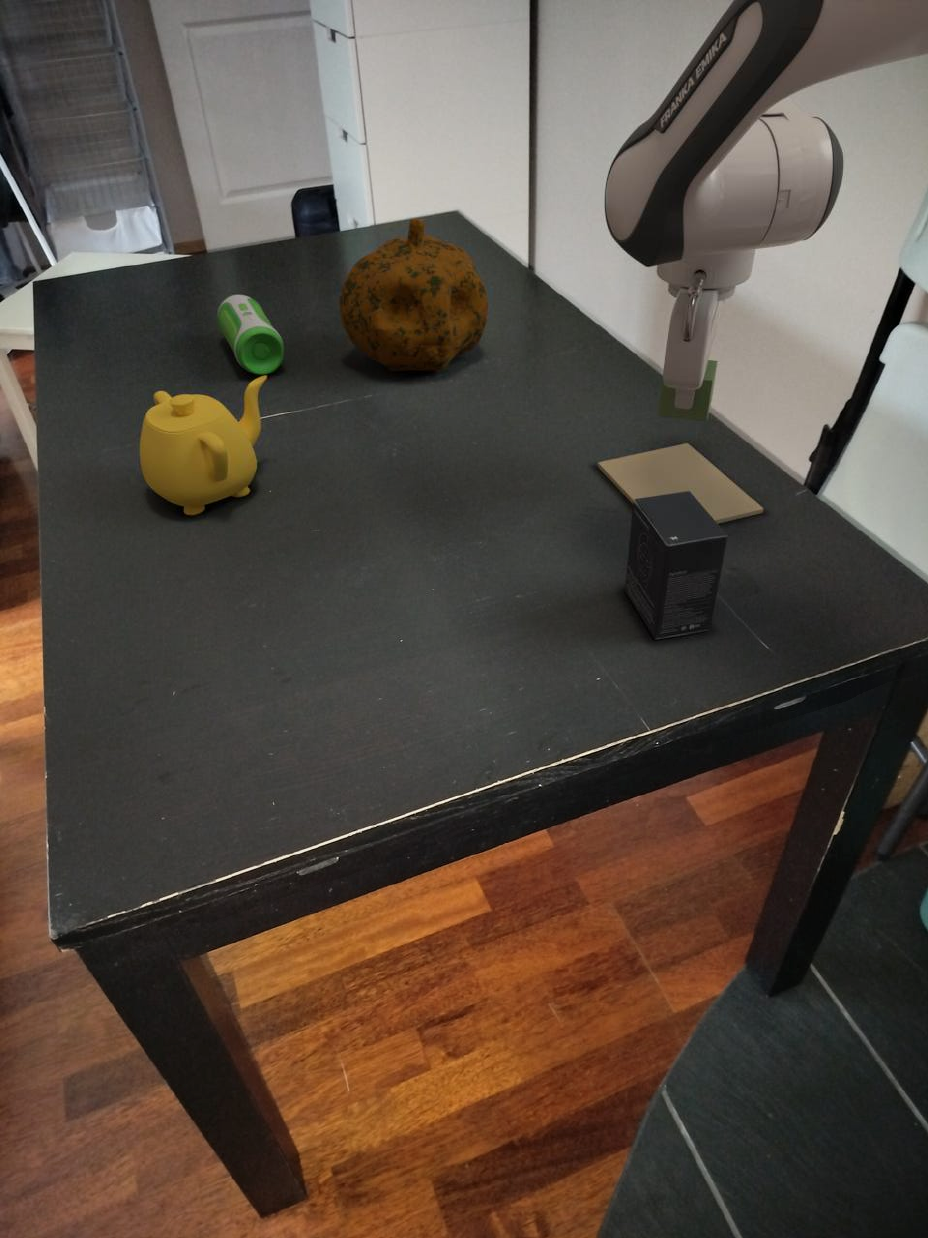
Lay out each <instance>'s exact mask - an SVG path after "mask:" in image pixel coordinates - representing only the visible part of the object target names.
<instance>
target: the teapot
mask: <svg viewBox="0 0 928 1238" xmlns="http://www.w3.org/2000/svg"><path fill="white" fill-rule="evenodd" d="M267 378H268V375H260V376H259V377H257V378H255V379H254V380H251V382H249V384H248V385H247V386H246V388H245V392H244V395H243V396H244V399H243V401H244V403H243V404H244V410H243V415H242V416H241V418H240V420H239V421H238V420H237V419H236V418H235V416H234V415H233V414H232V412H230V410H229V409H228V408H227V407H226V406H225V405H224V404H223V403H222V402H221V401H219V400H217V399H216V398H214V397H211V396H208V395H205V394H189V393H182V394H177V395H175V396H171V395H170V394H169V393H168V392H167V391H165V390H158V391H156V392H154V394H153V401H154V404H155V405H154V406H152V407H150V408H149V409H148V410H147V412H146V413H145V415H144V418H143V423H142V428H141V433H140V442H139V459H140V467H141V472H142V476H143V478H144V481H145V483H146V484H147V486H149V488H150V489H151V490H152V491H153V492H154V493H156V494H157V495H159V496H160V498H163V499H165V500H166V501H168V502H170V503H172V504H174V505H176V506H181V507H183V513H184V514H185V515H187V516H196V515H198V514H199V515H200V514H201V513H202V512H204V511H205V508H206V507H205V505H210V504H212V503H215V502H218V501H221V500H223V499H226V498H229V497H234V498H241V497H245V496H247V495H248V494H249V493H250V492H251V489H250V488H249V487H248V486H249V485H250V484H251V483H252V480H253V479H254V477H255V475H256V473H257V468H258V459H257V456H256V452H255V449H254V447H253V446H255V444H256V443H257V441H258V439H259V437H260V435H261V430H262V420H261V415H260V409H259V392H260V389H261V387H262V385H263V384H264V383H265V381H266V380H267Z"/></svg>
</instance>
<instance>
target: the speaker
mask: <svg viewBox="0 0 928 1238" xmlns="http://www.w3.org/2000/svg"><path fill="white" fill-rule="evenodd" d="M216 318H217V319H216V320H217V324H218V328H219V330H220V332H221V333H222V335H223V336H224V338H225V339H226V341H227V343H228V345H229V347H230V349H231V350H232V353H233V355H234V357H235V360H236V362H237V364H239V366H240V367H242V368H243V369H244V370H246V371H247V372H249V373H251V374H254V375H258V376H267V375H269V374H271V373H274V372H275V371H276V370H277V369H278V368H279V367H280V366H281V364H282V363H283V361H284V355H285V346H284V341H283V338H282V335H281V334H280V332H278V331H277V329H276V328H274V326H273V324H272V323H271V322H270V320H269V319H268V317H267V315H266V314H265V313H264V310H263V308H262V307H261V305H260V304H259V303H258V302H257V301H256V300H255V299H253V298H252V297H250V296H248V295H244V294H232V295H230V296H227V297H226V298H224V300H222V302H221V303H220V304H219V307H218V310H217V316H216Z"/></svg>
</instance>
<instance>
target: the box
mask: <svg viewBox="0 0 928 1238" xmlns="http://www.w3.org/2000/svg"><path fill="white" fill-rule="evenodd" d="M728 537H729V536H728V533H726V532H725V531H724V529H723V528H722V527H721V526H720V525H719V524H717V522H716V521H715V520H714V519H713V518H712V517H711V515H710V514H709V513H708V512H707V511H706V509H705V508H704V507H703V506H702V505H701V504H700V502H699V501H698V500H697V499H696V498H695V497H694V495H693V494H692V493H691V492H690V491H686V492H679V493H672V494H666V495H659V496H652V497H646V498H639V499H635V500H634V501H633V504H632V512H631V522H630V533H629V544H628V554H627V555H628V556H627V565H626V576H625V585H624V591H625V594H626V595H627V597H628V598H629V600H630V602H631V604H632V605H633V607H634V608H635V610H636V611H637V613H638V615H639V616H640V618H641V620H642V621H643V623H644V625H645V626H646V627H647V629H648V631H649V632H650V633H651V636H652V637H653V639H654V640H661V639H667V638H668V639H669V638H673V637H680V636H686V635H690V634H696V633H697V634H698V633H702V632H708V631H710V630H711V628H712V624H713V619H714V614H715V609H716V604H717V597H718V591H719V587H720V582H721V581H720V580H721V575H722V571H723V570H722V569H723V566H724V559H725V555H726V554H725V553H726V548H727V544H728V543H727V542H728Z"/></svg>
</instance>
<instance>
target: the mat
mask: <svg viewBox="0 0 928 1238" xmlns="http://www.w3.org/2000/svg"><path fill="white" fill-rule="evenodd" d="M597 468H598V469H599V470H600V471H601V472H602V473H603V474H604V475H605V476H606V477H607V478H608V479H609V481H611V483H612V484H613V485H614V486H615V487H616V488H617V489H618V490H619V492H621V493H622V494H623V496H624V497H625V498H626V499H627V500H628V501H629V502H630V503H631V504H632V505H633V501H634V500H635V499H639V498H646V497H652V496H659V495H666V494H672V493H679V492H686V491H690V492H691V493H692V494H693V495H694V497H695V498H696V499H697V500H698V501H699V502H700V504H701V505H702V506H703V507H704V508H705V509H706V511H707V512H708V513H709V514H710V515H711V517H712V518H713V519H714V520H715V521H716V522H717V524H718V525H719V524H722V523H727V522H731V521H735V520H739V519H743V518H744V519H745V518H747V517H748V518H749V517H752V516H755V515H759V514H763V513H764V507H762V506H761V505H760V504H759V503H758V502H757V501H756V500H754V499H753V498H752V497H751V496H750V495H748V494H747V492H745V491H744V490H743V489H741V487H739V486H738V485H737V484H736V483H735V482H733V481H732V480H731V478H729V477H727V476H726V475H725V473H724V472H722V471H721V470H720V469H718V468H717V467H716V465H714V464H713V463H711V461H709V460H708V459H707V458H706V457H704V455H702V454H701V453H700V452H699V451H698V450H697V449H696V448H694V447H693V446H692V445H691V444H689V442H686V443H680V444H676V445H671V446H667V447H662V448H658V449H653V450H649V451H644V452H639V453H634V454H629V455H626V456H620V457H617V458H612V459H608V460H604V461H599V462H597Z"/></svg>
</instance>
